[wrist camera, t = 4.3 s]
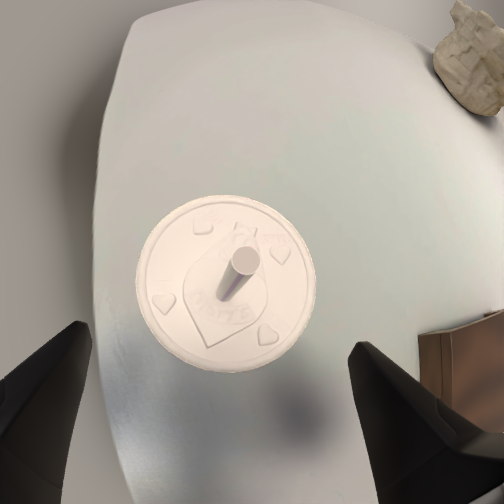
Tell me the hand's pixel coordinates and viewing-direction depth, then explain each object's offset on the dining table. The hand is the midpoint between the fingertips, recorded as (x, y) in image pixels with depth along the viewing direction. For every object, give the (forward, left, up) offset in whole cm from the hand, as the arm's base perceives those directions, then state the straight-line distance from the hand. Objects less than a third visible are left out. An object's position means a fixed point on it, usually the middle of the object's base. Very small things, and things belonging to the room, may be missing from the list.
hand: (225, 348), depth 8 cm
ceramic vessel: (+39, -50, -10) cm, 65 cm away
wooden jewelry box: (-9, -24, -10) cm, 28 cm away
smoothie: (+2, 0, -10) cm, 10 cm away
